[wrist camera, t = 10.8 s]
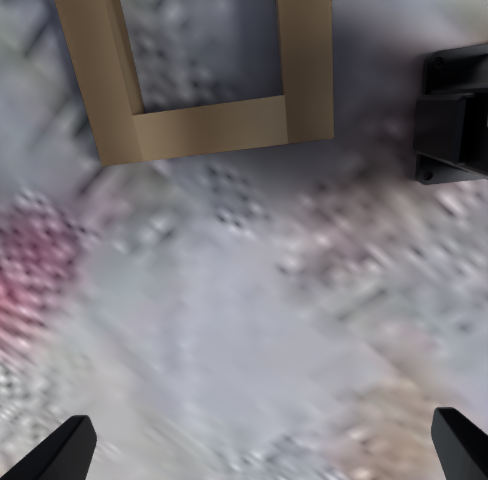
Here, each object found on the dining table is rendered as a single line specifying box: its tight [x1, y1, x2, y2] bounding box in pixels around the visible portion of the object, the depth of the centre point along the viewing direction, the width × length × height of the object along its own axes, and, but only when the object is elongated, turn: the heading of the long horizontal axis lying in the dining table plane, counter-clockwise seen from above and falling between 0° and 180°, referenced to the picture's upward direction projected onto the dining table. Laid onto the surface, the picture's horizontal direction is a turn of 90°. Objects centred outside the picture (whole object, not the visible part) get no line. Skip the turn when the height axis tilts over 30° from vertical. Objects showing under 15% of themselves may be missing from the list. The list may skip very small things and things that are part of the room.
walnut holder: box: [54, 0, 334, 166], centre depth 15 cm, size 12×12×2 cm
